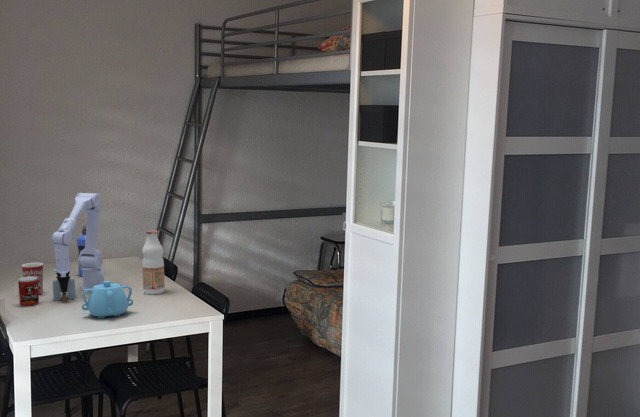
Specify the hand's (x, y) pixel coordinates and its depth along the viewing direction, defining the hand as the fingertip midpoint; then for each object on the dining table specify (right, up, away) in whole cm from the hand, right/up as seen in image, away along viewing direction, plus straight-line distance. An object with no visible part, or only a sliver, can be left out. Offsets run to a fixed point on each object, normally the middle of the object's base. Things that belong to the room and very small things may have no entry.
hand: (64, 290), depth 313 cm
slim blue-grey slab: (0, -4, 0) cm, 4 cm away
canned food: (-12, -5, -7) cm, 15 cm away
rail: (0, -4, 0) cm, 4 cm away
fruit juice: (+36, -3, +12) cm, 38 cm away
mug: (-17, -3, +11) cm, 21 cm away
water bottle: (-4, +2, +46) cm, 47 cm away
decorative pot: (+26, -7, -24) cm, 36 cm away
